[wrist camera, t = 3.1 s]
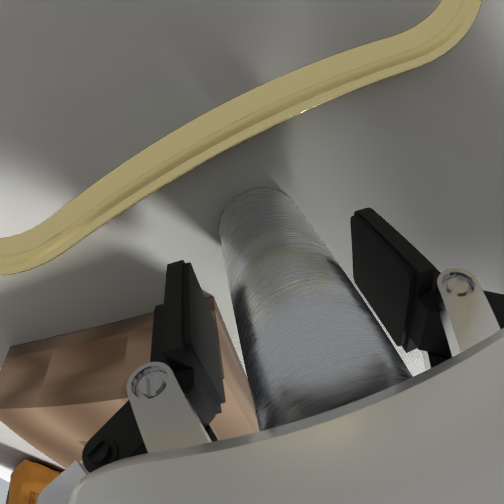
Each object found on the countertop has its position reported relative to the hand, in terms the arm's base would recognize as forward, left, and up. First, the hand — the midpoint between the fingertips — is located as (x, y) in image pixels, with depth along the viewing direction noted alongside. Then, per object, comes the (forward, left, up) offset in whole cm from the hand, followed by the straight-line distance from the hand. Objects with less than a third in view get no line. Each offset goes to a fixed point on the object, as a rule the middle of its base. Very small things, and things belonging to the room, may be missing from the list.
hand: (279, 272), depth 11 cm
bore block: (+10, +9, -4) cm, 14 cm away
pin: (0, 0, -4) cm, 4 cm away
